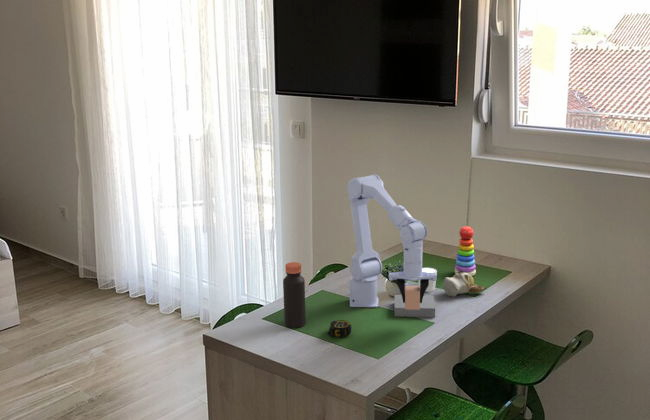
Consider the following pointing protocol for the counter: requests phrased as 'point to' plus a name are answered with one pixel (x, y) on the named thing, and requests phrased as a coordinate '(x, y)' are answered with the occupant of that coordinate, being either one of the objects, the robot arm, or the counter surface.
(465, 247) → the stacking toy
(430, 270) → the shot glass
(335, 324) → the tape measure
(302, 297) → the bottle
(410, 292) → the terracotta block
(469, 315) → the counter surface
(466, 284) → the ceramic sculpture
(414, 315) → the plinth
